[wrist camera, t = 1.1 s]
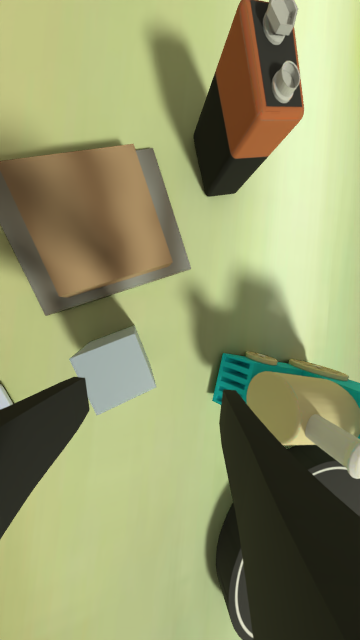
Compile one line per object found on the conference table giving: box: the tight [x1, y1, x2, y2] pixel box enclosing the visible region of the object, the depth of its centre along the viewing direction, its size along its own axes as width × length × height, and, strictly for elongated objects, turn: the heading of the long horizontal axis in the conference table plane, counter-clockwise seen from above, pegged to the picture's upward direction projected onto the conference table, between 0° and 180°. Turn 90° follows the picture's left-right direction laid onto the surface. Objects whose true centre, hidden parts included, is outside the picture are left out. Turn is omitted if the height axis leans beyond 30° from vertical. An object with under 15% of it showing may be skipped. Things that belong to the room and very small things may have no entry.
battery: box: [194, 0, 304, 196], centre depth 15 cm, size 4×7×10 cm, turn 15°
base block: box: [0, 144, 191, 316], centre depth 16 cm, size 16×13×2 cm
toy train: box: [212, 352, 360, 479], centre depth 18 cm, size 8×17×15 cm, turn 77°
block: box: [69, 325, 156, 415], centre depth 16 cm, size 5×5×6 cm
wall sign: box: [216, 445, 360, 640], centre depth 27 cm, size 30×4×30 cm
